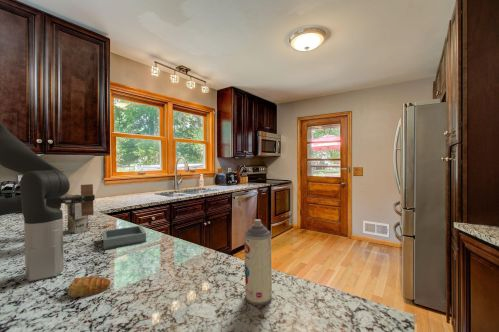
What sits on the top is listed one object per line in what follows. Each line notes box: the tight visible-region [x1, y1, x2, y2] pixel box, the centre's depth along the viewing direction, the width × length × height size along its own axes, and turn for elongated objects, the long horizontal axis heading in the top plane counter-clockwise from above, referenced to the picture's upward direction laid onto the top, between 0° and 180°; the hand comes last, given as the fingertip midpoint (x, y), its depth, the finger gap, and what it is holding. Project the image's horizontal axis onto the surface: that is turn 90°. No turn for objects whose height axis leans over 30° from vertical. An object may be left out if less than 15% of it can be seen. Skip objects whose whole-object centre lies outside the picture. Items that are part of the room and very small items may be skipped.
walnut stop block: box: [80, 183, 95, 217], centre depth 105 cm, size 4×4×14 cm
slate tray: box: [102, 225, 147, 251], centre depth 104 cm, size 16×16×4 cm
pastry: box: [67, 275, 112, 298], centre depth 63 cm, size 9×7×4 cm
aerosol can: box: [244, 218, 273, 307], centre depth 58 cm, size 7×7×20 cm
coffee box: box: [66, 203, 89, 234], centre depth 121 cm, size 9×6×16 cm
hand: (94, 197), depth 107 cm, fingers closed on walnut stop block, 4 cm apart
